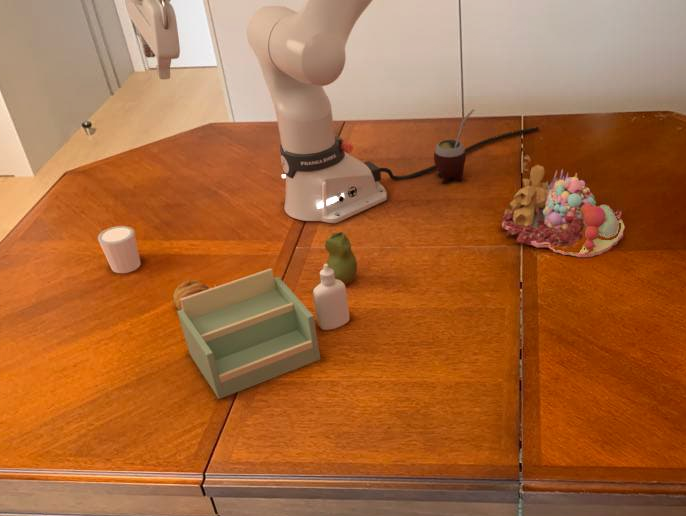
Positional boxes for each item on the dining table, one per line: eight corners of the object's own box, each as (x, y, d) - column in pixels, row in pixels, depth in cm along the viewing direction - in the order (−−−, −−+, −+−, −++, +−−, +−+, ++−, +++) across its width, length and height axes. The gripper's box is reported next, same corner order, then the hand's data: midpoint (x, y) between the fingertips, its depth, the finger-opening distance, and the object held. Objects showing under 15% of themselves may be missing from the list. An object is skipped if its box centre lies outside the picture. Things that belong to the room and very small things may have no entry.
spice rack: (286, 319, 144) (276, 266, 137) (320, 359, 135) (312, 305, 128) (189, 354, 137) (173, 300, 130) (218, 399, 128) (203, 344, 121)
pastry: (224, 315, 146) (219, 297, 143) (188, 327, 143) (183, 310, 141) (206, 291, 152) (201, 273, 149) (171, 302, 149) (166, 285, 147)
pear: (363, 278, 153) (358, 231, 146) (348, 292, 150) (342, 245, 143) (338, 271, 155) (332, 224, 148) (323, 285, 152) (316, 238, 145)
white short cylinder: (134, 276, 157) (123, 244, 152) (101, 273, 158) (90, 242, 153) (149, 257, 162) (140, 226, 157) (118, 255, 163) (108, 224, 158)
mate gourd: (429, 181, 182) (426, 115, 172) (446, 167, 187) (445, 103, 177) (457, 188, 179) (456, 122, 169) (475, 174, 184) (475, 108, 174)
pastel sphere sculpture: (486, 242, 161) (487, 200, 155) (521, 190, 177) (523, 149, 171) (611, 264, 153) (616, 220, 147) (635, 207, 169) (641, 165, 163)
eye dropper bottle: (318, 316, 144) (309, 258, 136) (350, 315, 144) (343, 256, 136) (317, 331, 141) (308, 272, 133) (349, 329, 141) (342, 270, 133)
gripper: (186, -2, 120) (193, 90, 130) (152, -43, 133) (160, 43, 142) (142, -1, 118) (153, 93, 127) (112, -43, 130) (123, 45, 140)
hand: (156, 66), depth 135 cm, fingers open, 8 cm apart
